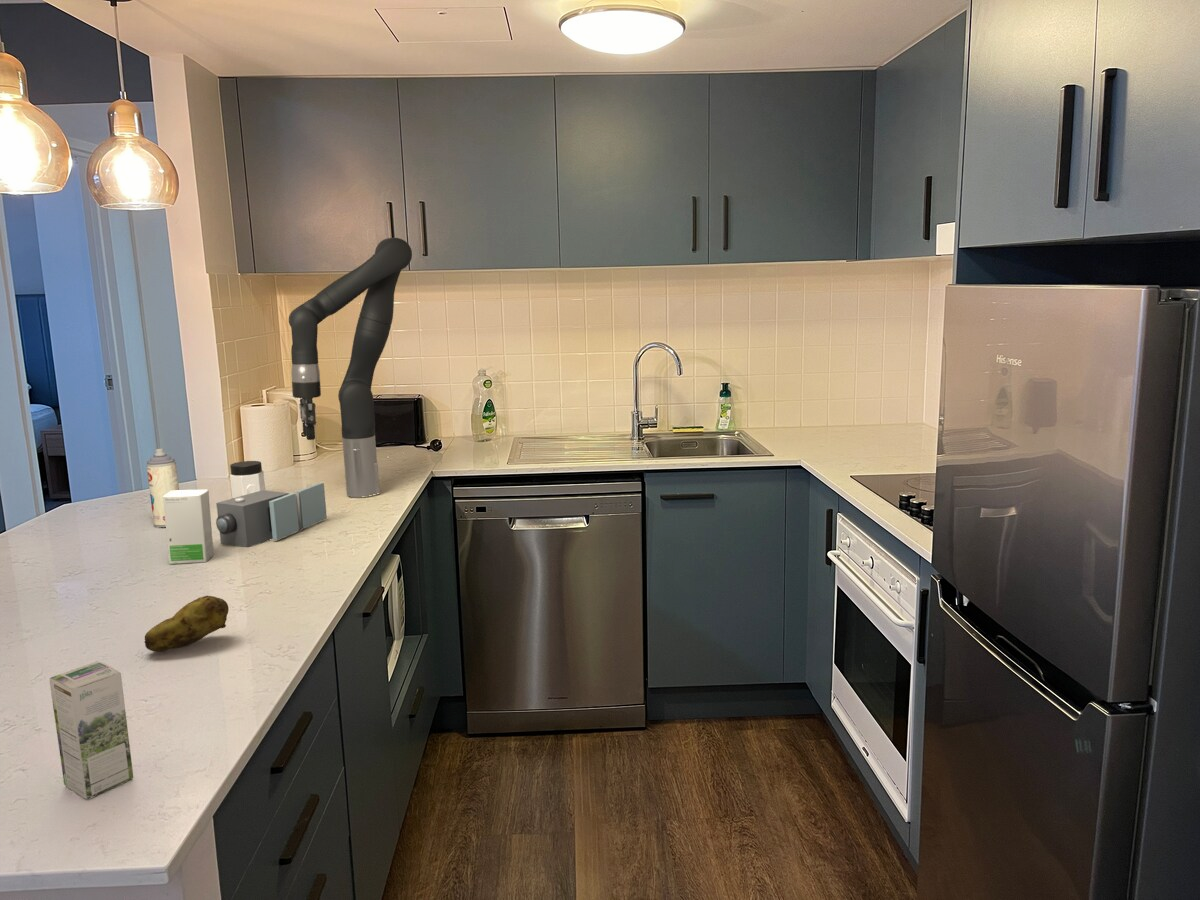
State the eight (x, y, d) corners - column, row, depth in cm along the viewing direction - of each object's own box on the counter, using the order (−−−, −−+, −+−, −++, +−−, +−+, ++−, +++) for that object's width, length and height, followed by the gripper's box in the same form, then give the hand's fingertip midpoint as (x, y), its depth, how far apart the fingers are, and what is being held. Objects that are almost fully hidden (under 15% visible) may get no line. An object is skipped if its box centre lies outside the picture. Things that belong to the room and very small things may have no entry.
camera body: (266, 528, 222) (262, 487, 220) (293, 532, 218) (289, 489, 216) (212, 546, 208) (207, 502, 206) (239, 550, 203) (234, 505, 201)
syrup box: (111, 765, 111) (96, 658, 108) (135, 779, 108) (121, 669, 105) (63, 787, 107) (46, 675, 104) (87, 802, 103) (70, 687, 101)
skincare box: (168, 565, 194) (159, 496, 191) (177, 556, 200) (169, 490, 197) (208, 562, 195) (200, 494, 192) (216, 553, 202) (208, 487, 199)
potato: (154, 641, 151) (148, 597, 150) (234, 631, 155) (229, 588, 153) (143, 660, 143) (137, 613, 142) (227, 649, 147) (222, 604, 145)
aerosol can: (155, 522, 231) (146, 448, 227) (184, 520, 233) (175, 446, 229) (152, 529, 224) (142, 452, 221) (181, 526, 226) (172, 450, 223)
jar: (236, 510, 241) (231, 468, 239) (230, 504, 248) (225, 463, 246) (270, 505, 246) (265, 463, 244) (263, 500, 253) (259, 459, 251)
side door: (322, 519, 229) (319, 482, 227) (327, 519, 228) (324, 482, 227) (272, 541, 210) (268, 501, 208) (277, 541, 209) (273, 501, 207)
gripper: (323, 381, 239) (326, 440, 242) (316, 377, 252) (319, 433, 255) (294, 382, 236) (297, 442, 239) (289, 378, 249) (292, 434, 252)
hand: (309, 437), depth 247 cm, fingers open, 8 cm apart
